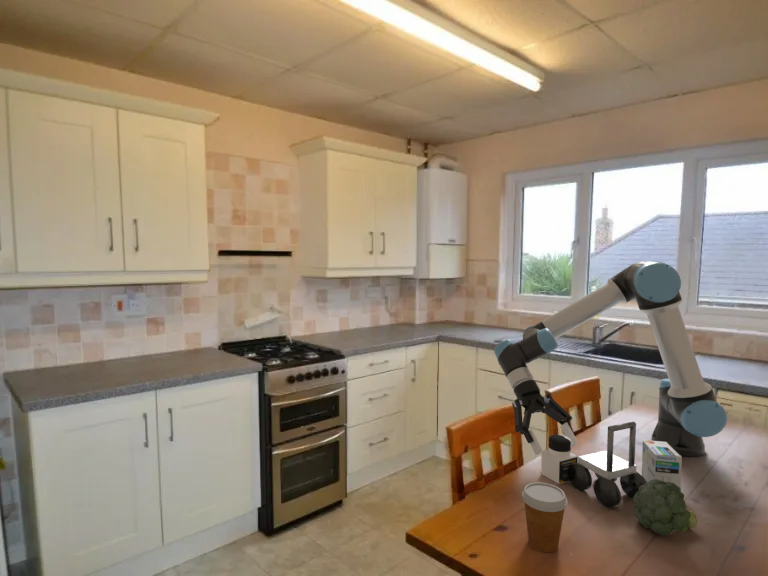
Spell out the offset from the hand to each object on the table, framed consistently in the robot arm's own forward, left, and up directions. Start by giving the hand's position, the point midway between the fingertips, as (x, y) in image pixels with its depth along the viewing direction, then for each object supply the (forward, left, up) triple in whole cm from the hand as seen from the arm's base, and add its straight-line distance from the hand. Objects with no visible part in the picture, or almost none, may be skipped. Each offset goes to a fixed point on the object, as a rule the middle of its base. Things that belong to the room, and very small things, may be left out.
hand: (557, 448), depth 133 cm
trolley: (-5, +13, -8) cm, 16 cm away
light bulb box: (-23, +15, -8) cm, 29 cm away
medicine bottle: (0, +1, -8) cm, 8 cm away
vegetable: (-4, +30, -8) cm, 31 cm away
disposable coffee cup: (+26, +23, -8) cm, 36 cm away
